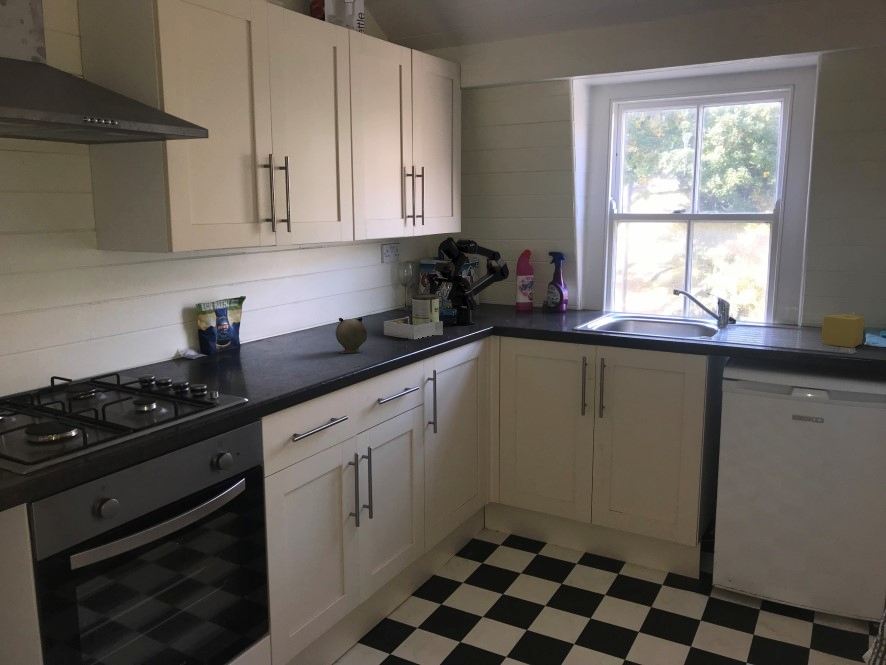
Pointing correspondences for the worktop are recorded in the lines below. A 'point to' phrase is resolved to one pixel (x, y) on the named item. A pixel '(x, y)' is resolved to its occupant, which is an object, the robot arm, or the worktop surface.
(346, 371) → the worktop surface
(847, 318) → the cheese
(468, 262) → the robot arm
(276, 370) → the worktop surface
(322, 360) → the worktop surface
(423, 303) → the coffee can
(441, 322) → the grey bent block
